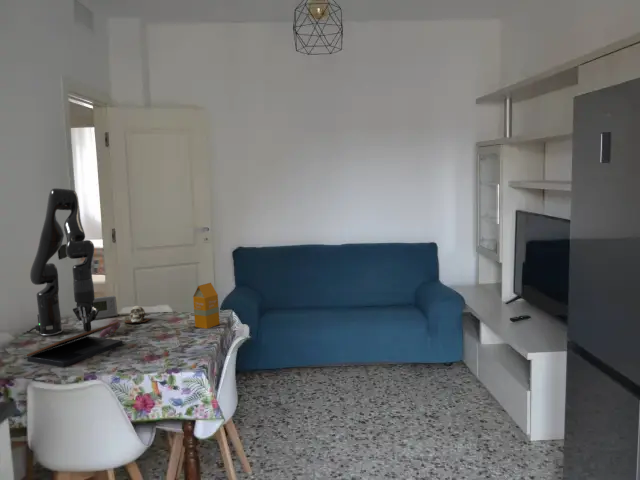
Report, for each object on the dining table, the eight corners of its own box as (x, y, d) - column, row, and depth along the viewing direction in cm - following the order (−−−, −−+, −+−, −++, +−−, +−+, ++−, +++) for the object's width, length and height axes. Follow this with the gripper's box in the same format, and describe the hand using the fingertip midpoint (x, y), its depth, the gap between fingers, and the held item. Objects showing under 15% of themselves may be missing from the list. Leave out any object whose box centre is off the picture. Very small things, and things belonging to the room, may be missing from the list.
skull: (148, 321, 277) (132, 307, 276) (133, 336, 278) (118, 321, 277) (154, 314, 289) (139, 301, 288) (140, 328, 290) (126, 315, 289)
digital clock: (83, 321, 289) (81, 300, 287) (86, 317, 297) (84, 297, 296) (116, 318, 292) (115, 297, 291) (119, 314, 301) (117, 294, 300)
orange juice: (219, 324, 272) (217, 283, 269) (207, 328, 264) (204, 286, 262) (207, 322, 276) (205, 281, 273) (194, 326, 268) (191, 285, 266)
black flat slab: (122, 344, 245) (122, 340, 245) (63, 367, 218) (63, 362, 218) (87, 339, 254) (87, 335, 254) (27, 361, 228) (27, 356, 227)
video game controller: (106, 340, 257) (111, 327, 255) (98, 336, 257) (103, 323, 256) (118, 334, 266) (123, 321, 265) (110, 330, 267) (115, 317, 266)
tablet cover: (118, 323, 244) (117, 321, 244) (59, 343, 218) (58, 341, 218) (87, 336, 254) (86, 334, 254) (27, 356, 227) (26, 354, 227)
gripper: (102, 288, 230) (106, 330, 232) (79, 286, 236) (83, 327, 238) (88, 292, 223) (91, 335, 225) (64, 290, 229) (68, 332, 231)
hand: (87, 331), depth 231 cm, fingers closed
